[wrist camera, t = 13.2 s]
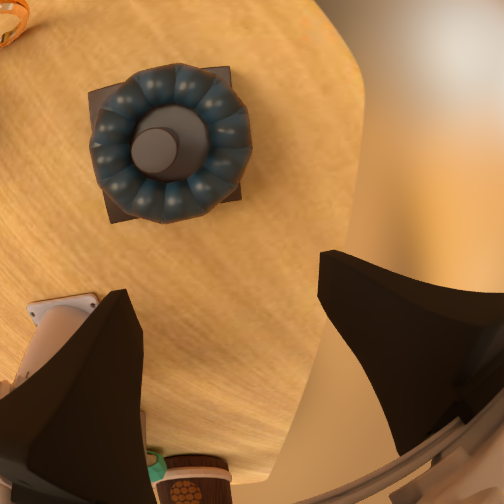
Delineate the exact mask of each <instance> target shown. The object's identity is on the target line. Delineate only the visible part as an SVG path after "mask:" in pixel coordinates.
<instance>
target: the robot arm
mask: <svg viewBox="0 0 504 504" xmlns="http://www.w3.org/2000/svg"><path fill="white" fill-rule="evenodd" d="M317 297H318V299H319V301H320V303H321V305H322V307H323V309H324V311H325V312H326V314H327V316H328V318H329V319H330V320H331V322H332V323H333V325H334V326H335V328H336V329H337V331H338V332H339V333H340V335H341V336H342V338H343V339H344V340H345V342H346V343H347V345H348V346H349V347H350V349H351V350H352V351H353V353H354V354H355V356H356V357H357V359H358V361H359V362H360V364H361V365H362V367H363V369H364V371H365V373H366V375H367V377H368V379H369V380H370V382H371V384H372V386H373V389H374V391H375V393H376V395H377V397H378V399H379V402H380V404H381V406H382V409H383V411H384V414H385V416H386V419H387V421H388V424H389V427H390V430H391V433H392V436H393V439H394V442H395V446H396V450H397V452H398V454H399V455H400V457H399V458H397V459H396V460H394V461H392V462H390V463H389V464H387V465H385V466H383V467H381V468H380V469H378V470H376V471H374V472H372V473H370V474H368V475H366V476H364V477H361V478H359V479H357V480H355V481H353V482H351V483H348V484H346V485H344V486H341V487H339V488H336V489H334V490H332V491H329V492H326V493H324V494H321V495H318V496H315V497H312V498H309V499H306V500H303V501H300V502H297V503H293V504H355V503H357V502H359V501H361V500H364V499H366V498H368V497H369V496H372V495H374V494H376V493H377V492H379V491H381V490H383V489H385V488H387V487H388V486H390V485H392V484H394V483H396V482H397V481H399V480H401V479H402V478H404V477H406V476H407V475H409V474H410V473H412V472H413V471H415V470H416V469H418V468H419V467H421V466H422V465H424V464H425V463H427V462H428V461H430V460H431V459H432V458H433V459H432V461H431V467H430V468H429V469H428V470H427V471H426V472H424V473H423V474H421V475H419V476H418V477H416V478H415V479H413V480H412V481H410V482H409V483H407V484H406V485H404V486H402V487H401V488H399V489H398V490H396V491H394V492H392V493H391V494H390V495H389V498H390V500H391V502H392V504H504V495H503V494H502V492H503V491H504V293H483V292H472V291H463V290H457V289H452V288H447V287H442V286H437V285H433V284H429V283H425V282H422V281H418V280H415V279H412V278H409V277H406V276H403V275H400V274H397V273H394V272H391V271H389V270H387V269H384V268H381V267H379V266H376V265H374V264H371V263H369V262H366V261H364V260H362V259H359V258H357V257H354V256H352V255H349V254H346V253H344V252H341V251H337V250H330V251H325V252H320V263H319V280H318V294H317ZM92 303H94V304H95V305H92ZM27 311H28V313H29V314H30V316H31V318H32V320H33V322H34V323H35V325H36V327H37V328H36V330H35V332H34V334H33V337H32V339H31V341H30V343H29V345H28V348H27V350H26V352H25V354H24V357H23V359H22V362H21V364H20V367H19V369H18V372H17V374H16V377H15V380H14V382H13V383H12V385H11V384H10V383H9V382H8V381H7V380H3V381H0V504H157V501H156V498H155V495H154V492H153V488H152V484H151V480H150V476H149V472H148V467H147V463H146V457H145V451H144V445H143V438H142V429H141V418H140V400H141V384H142V370H143V357H144V349H143V330H142V328H141V326H140V323H139V321H138V319H137V316H136V314H135V311H134V309H133V306H132V304H131V301H130V298H129V296H128V293H127V290H126V289H122V290H116V291H111V292H110V293H109V294H108V295H107V296H106V297H105V298H104V299H103V300H102V301H101V302H100V303H99V301H98V299H97V297H96V296H95V295H94V294H92V293H89V294H83V295H77V296H71V297H65V298H59V299H53V300H47V301H40V302H34V303H29V304H28V305H27Z"/></svg>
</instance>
